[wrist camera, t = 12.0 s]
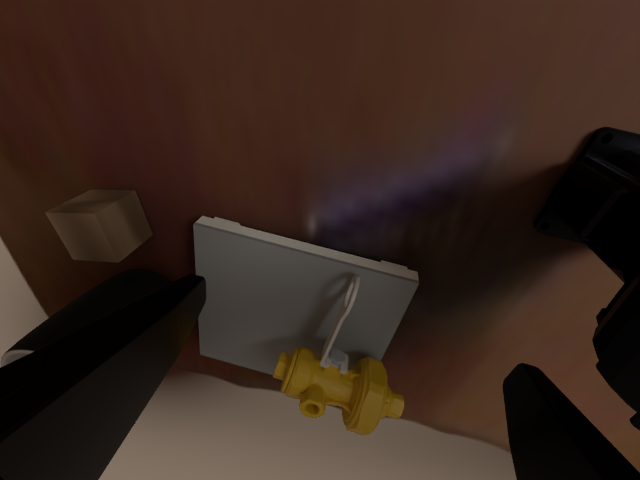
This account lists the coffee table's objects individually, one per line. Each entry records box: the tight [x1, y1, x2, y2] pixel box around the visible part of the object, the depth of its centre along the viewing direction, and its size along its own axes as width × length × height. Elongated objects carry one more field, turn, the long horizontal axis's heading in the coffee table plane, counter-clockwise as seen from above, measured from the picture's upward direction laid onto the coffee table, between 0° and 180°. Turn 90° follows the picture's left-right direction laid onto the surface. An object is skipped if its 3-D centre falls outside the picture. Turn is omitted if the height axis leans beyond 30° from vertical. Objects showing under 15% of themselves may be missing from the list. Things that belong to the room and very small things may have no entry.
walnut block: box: [45, 190, 153, 263], centre depth 23 cm, size 4×4×4 cm
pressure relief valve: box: [273, 274, 404, 435], centre depth 22 cm, size 6×12×10 cm
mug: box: [1, 270, 171, 367], centre depth 26 cm, size 12×9×10 cm
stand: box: [193, 216, 419, 375], centre depth 26 cm, size 16×15×2 cm
